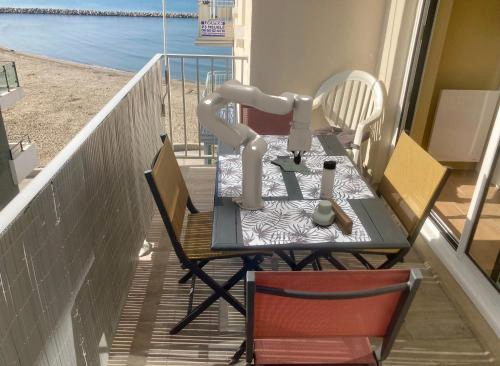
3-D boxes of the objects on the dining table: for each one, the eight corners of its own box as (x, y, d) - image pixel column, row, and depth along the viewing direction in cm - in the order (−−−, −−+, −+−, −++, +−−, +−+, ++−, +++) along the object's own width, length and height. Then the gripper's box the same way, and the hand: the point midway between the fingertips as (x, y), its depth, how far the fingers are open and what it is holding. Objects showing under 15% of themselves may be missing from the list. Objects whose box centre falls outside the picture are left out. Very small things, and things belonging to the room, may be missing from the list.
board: (345, 234, 179) (346, 222, 177) (325, 210, 199) (326, 198, 196) (351, 233, 180) (353, 221, 178) (331, 209, 199) (332, 198, 197)
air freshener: (320, 214, 195) (322, 195, 190) (336, 220, 190) (339, 201, 186) (309, 224, 186) (311, 204, 182) (325, 230, 182) (328, 210, 178)
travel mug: (323, 201, 207) (327, 164, 198) (317, 195, 212) (321, 159, 204) (334, 200, 208) (339, 163, 200) (328, 194, 214) (333, 158, 205)
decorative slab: (313, 160, 256) (313, 157, 255) (314, 176, 235) (315, 173, 234) (271, 158, 259) (271, 155, 258) (268, 173, 237) (269, 170, 236)
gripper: (286, 127, 174) (282, 167, 182) (320, 127, 176) (315, 166, 184) (282, 121, 180) (278, 160, 188) (315, 121, 183) (310, 160, 191)
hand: (296, 163), depth 186 cm, fingers closed
